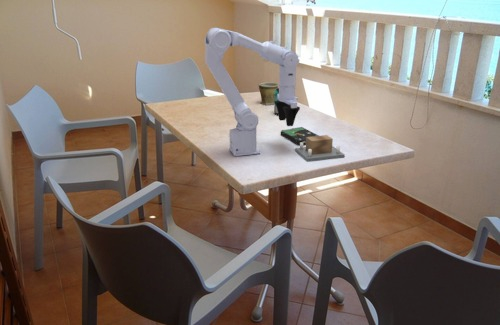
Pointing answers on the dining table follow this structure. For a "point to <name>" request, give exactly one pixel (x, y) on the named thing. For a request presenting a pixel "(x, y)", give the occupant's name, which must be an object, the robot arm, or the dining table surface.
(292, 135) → the disk drive
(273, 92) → the olive green plant pot
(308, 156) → the standoff plate
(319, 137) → the walnut block
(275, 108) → the beverage can
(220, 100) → the dining table surface
